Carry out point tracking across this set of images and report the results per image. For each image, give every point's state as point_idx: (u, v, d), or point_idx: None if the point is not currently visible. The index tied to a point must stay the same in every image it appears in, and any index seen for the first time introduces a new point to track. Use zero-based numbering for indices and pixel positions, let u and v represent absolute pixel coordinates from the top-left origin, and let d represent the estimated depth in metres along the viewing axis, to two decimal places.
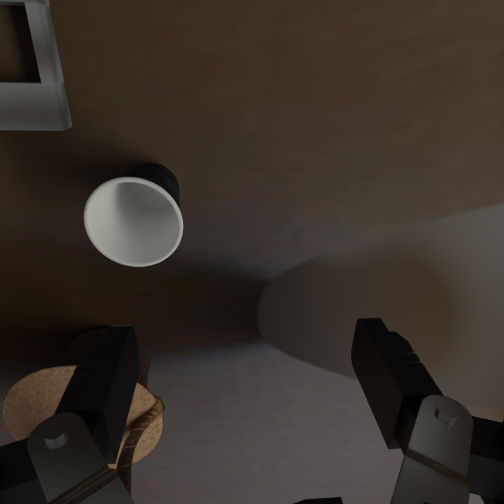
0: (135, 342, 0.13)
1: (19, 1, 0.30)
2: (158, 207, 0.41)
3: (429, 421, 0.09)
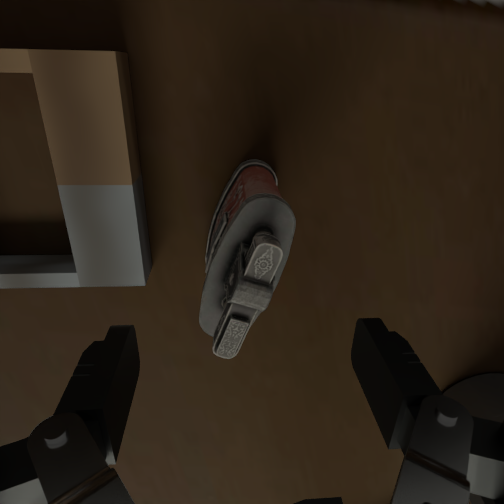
0: (135, 342, 0.13)
1: (77, 266, 0.23)
2: None
3: (429, 421, 0.09)
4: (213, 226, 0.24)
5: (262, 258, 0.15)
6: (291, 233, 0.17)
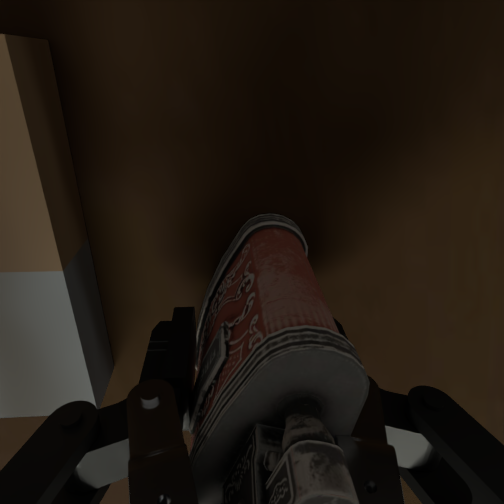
0: (195, 323, 0.14)
1: None
2: None
3: None
4: (204, 316, 0.15)
5: None
6: (358, 404, 0.08)
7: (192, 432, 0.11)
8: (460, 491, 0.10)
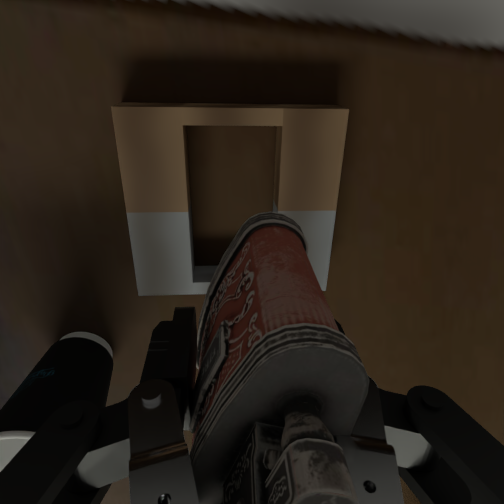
0: (195, 323, 0.14)
1: None
2: None
3: None
4: (205, 315, 0.15)
5: None
6: (358, 402, 0.08)
7: (193, 431, 0.11)
8: (459, 491, 0.10)
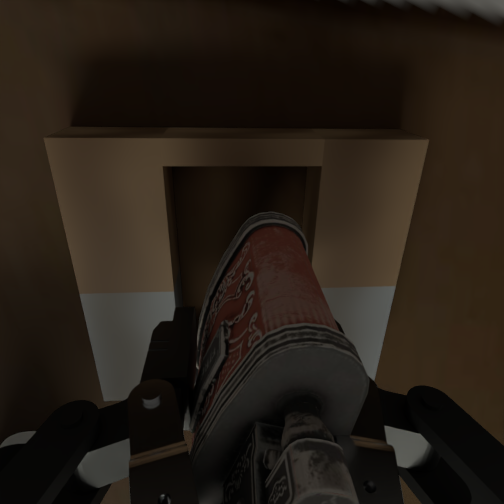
0: (195, 323, 0.14)
1: None
2: None
3: None
4: (205, 315, 0.15)
5: None
6: (358, 402, 0.08)
7: (193, 431, 0.11)
8: (459, 491, 0.10)
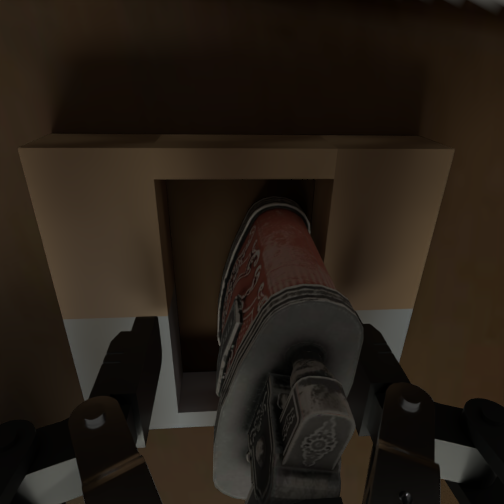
0: (159, 333, 0.13)
1: None
2: None
3: (395, 409, 0.09)
4: (223, 297, 0.16)
5: (315, 436, 0.08)
6: (356, 349, 0.09)
7: (219, 394, 0.13)
8: None
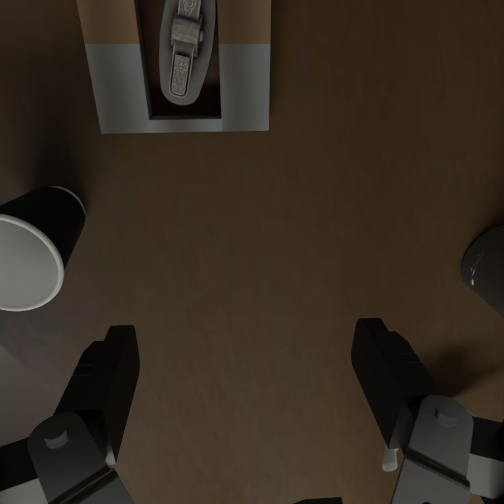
0: (135, 342, 0.13)
1: (222, 113, 0.31)
2: None
3: (429, 421, 0.09)
4: None
5: None
6: None
7: None
8: None
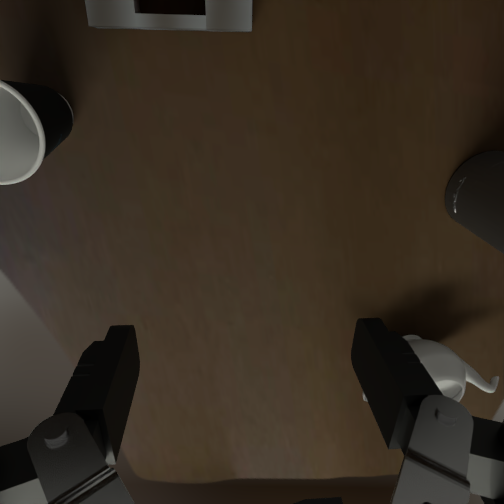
0: (135, 342, 0.13)
1: (206, 9, 0.32)
2: (22, 117, 0.36)
3: (429, 421, 0.09)
4: None
5: None
6: None
7: None
8: None
